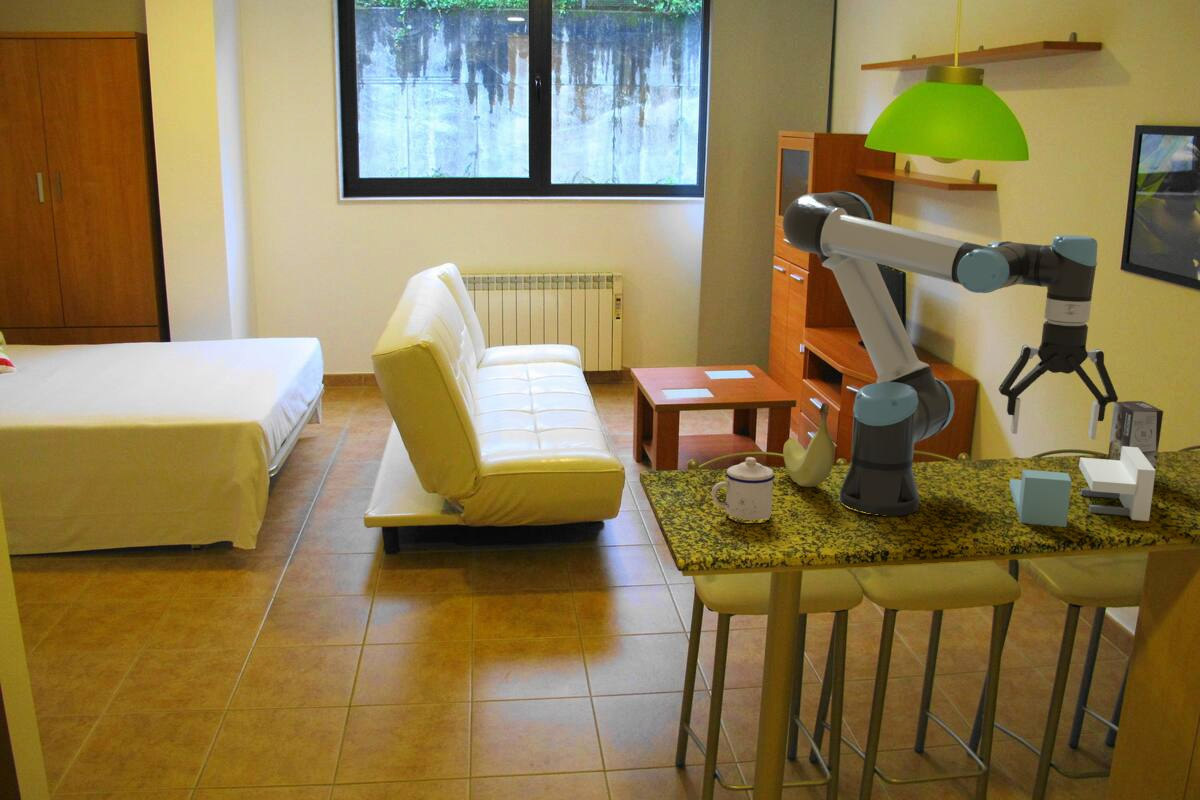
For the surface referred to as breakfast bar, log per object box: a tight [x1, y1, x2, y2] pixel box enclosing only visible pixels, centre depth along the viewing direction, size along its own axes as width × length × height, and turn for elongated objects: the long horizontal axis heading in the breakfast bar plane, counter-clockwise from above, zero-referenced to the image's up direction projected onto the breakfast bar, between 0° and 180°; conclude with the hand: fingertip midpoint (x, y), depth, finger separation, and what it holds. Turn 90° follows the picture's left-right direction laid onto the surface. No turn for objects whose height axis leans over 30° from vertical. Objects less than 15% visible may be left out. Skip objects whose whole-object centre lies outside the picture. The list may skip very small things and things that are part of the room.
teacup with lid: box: [711, 456, 776, 520], centre depth 205 cm, size 12×9×12 cm
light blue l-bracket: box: [1008, 469, 1072, 528], centre depth 213 cm, size 23×8×9 cm, turn 165°
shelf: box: [1078, 446, 1157, 522], centre depth 213 cm, size 10×16×10 cm, turn 165°
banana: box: [782, 402, 835, 488], centre depth 223 cm, size 23×6×20 cm, turn 8°
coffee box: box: [1107, 400, 1164, 471], centre depth 229 cm, size 9×6×16 cm
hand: (1052, 434), depth 203 cm, fingers open, 13 cm apart
